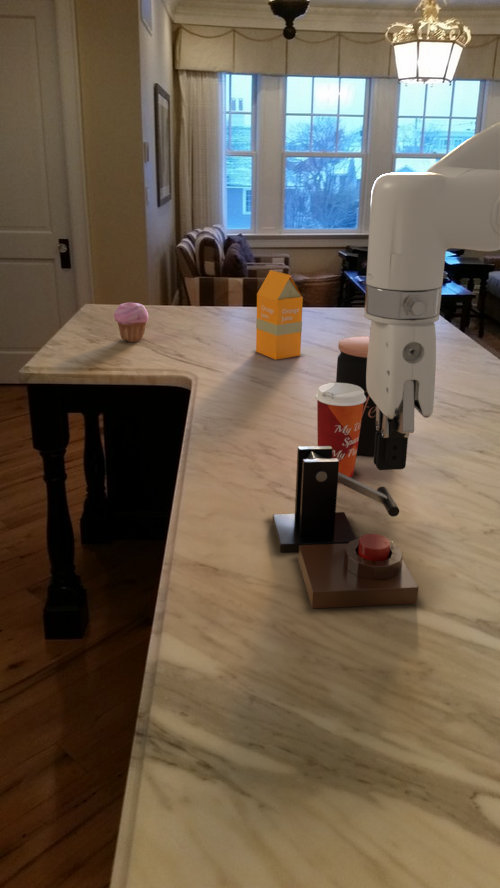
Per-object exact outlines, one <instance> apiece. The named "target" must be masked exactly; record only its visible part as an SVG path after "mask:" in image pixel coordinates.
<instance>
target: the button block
mask: <svg viewBox="0 0 500 888" xmlns="http://www.w3.org/2000/svg"><path fill="white" fill-rule="evenodd" d="M359 539H360V537H358V538H356V539H355V540H353V541H350V542H349V543H348V544H320V545H299V551H298V553H297V554H298V555H297V556H298V557H297V562H298V564H299V568H300V572H301V575H302V579H303V582H304V584H305V589H306V592H307V595H308V599H309V602H310V605H311V609H324V608H325V609H326V608H327V609H328V608H347V607H350V608H351V607H371V606H372V607H373V606H394V605H416V604H417V603H418V595H419V588H420V587H419V585H418V584H417V582H416V580H415V578H414V576H413V574H412V572H411V570H410V569H409V567H408V565H407V564H406V561H405V559H404V554H403V552H402V550H401V548H400V546H398V545H396V544H395V542H394V541H390V552H389V557H388V559H387V560H384V561H371V560H367V559H364V558H362V557H360V556H359V554H358V547H359Z"/></svg>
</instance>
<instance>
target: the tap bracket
mask: <svg viewBox="0 0 500 888" xmlns="http://www.w3.org/2000/svg"><path fill="white" fill-rule="evenodd" d="M332 450H333V449H332V447H331V446H318V445H315V446H314V445H310V446H308V445H307V446H297V454H296V455H297V458H296V475H295V477H296V479H295V500H294V501H295V502H294V513H275V514H272V525H273V529H274V533H275V536H276V537H275V538H276V541H277V546H278V549H279V552H280V553H291V552H292V553H294V552H296V553H297V552H298V553H299V545H320V544H348V543H349V542H350V541H353V540H355V539H357V537H356V534H355V532H354V530H353V528H352V526H351V523H350V521H349V519H348V517H347V515H346V512H345V511H338V512H337V498H338V497H337V496H338V483H339V482H338V471H339V460H338V458H332ZM311 451H312V452H314V453H316V454H318V455H320V456H322V457H324V458H326V459H307V457H308V456H309V454H310V453H311Z"/></svg>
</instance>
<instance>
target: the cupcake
mask: <svg viewBox="0 0 500 888" xmlns="http://www.w3.org/2000/svg"><path fill="white" fill-rule="evenodd" d="M113 318H114V321H115V322H116V323H117V325H118V331H119V336H120V338H121V339H122V340H123V341H127V342H129V343H134V342H138V341H141V340H142V338H143V337H144V335H145V332H146V325H147V323H148V321H149V313H148V310H147V309H146V307H145V305H143V304H141V303H140V302H139V303H138V302H129V301H128V302H124V303H120V304H119V305H118V306H117V308H116V309H115V310H114V312H113Z"/></svg>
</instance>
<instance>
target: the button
mask: <svg viewBox="0 0 500 888" xmlns="http://www.w3.org/2000/svg"><path fill="white" fill-rule="evenodd" d="M359 538H360V539H359V547H358V554H359V556H360V557H362V558H364V559H367V560H371V561H384V560H387V559H388V557H389V552H390V542H391V541H390V540H389V538H388V537H386V536H384V535H381V534H377V533H366V534H364V535H361V536H360V537H359Z"/></svg>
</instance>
